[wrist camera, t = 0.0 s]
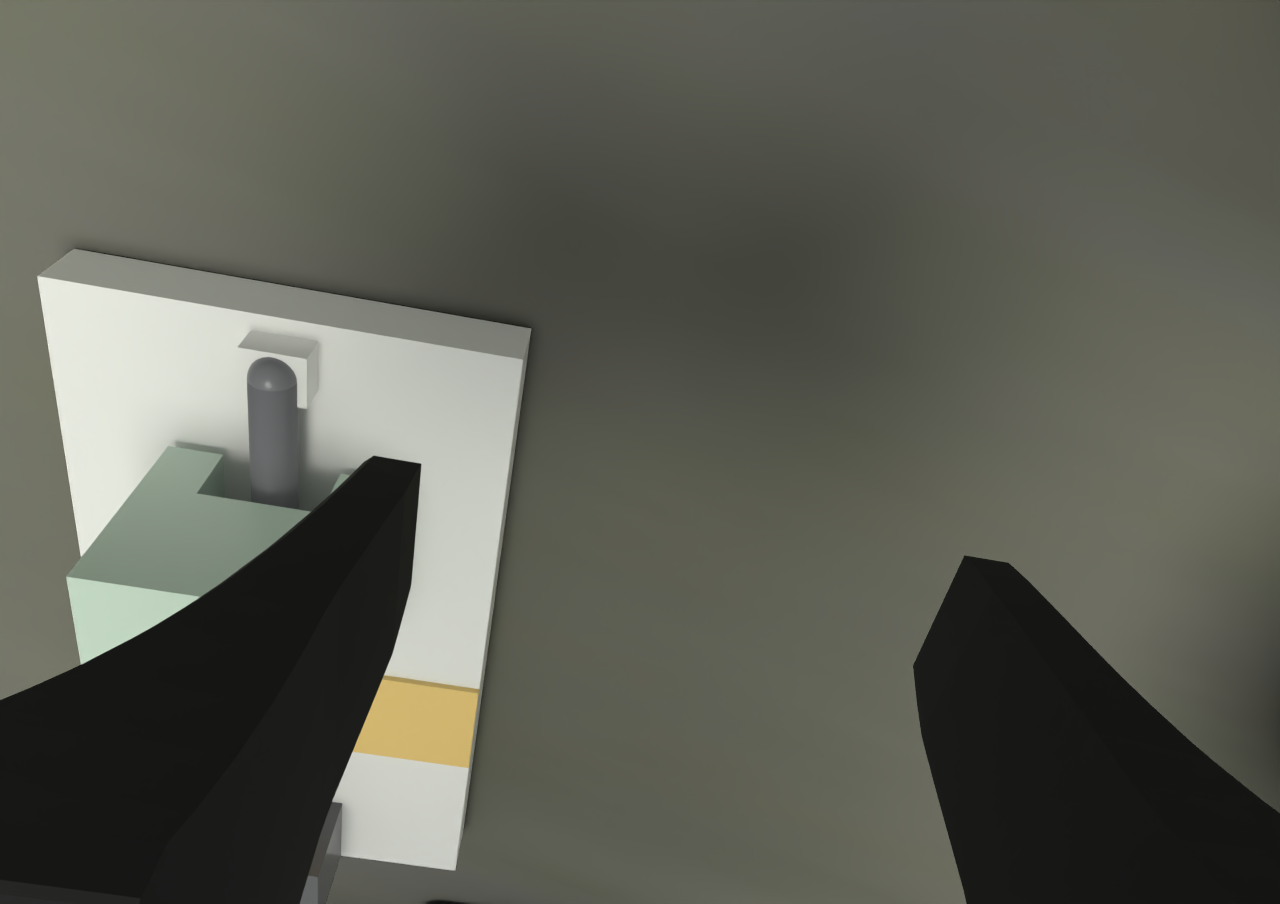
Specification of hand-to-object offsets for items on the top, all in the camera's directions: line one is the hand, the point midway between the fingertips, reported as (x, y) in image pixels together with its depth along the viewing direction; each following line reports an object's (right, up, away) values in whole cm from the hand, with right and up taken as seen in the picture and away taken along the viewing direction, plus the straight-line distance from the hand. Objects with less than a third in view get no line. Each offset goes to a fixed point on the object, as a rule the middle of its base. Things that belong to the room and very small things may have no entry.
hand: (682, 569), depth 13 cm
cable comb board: (-10, -2, +14) cm, 17 cm away
